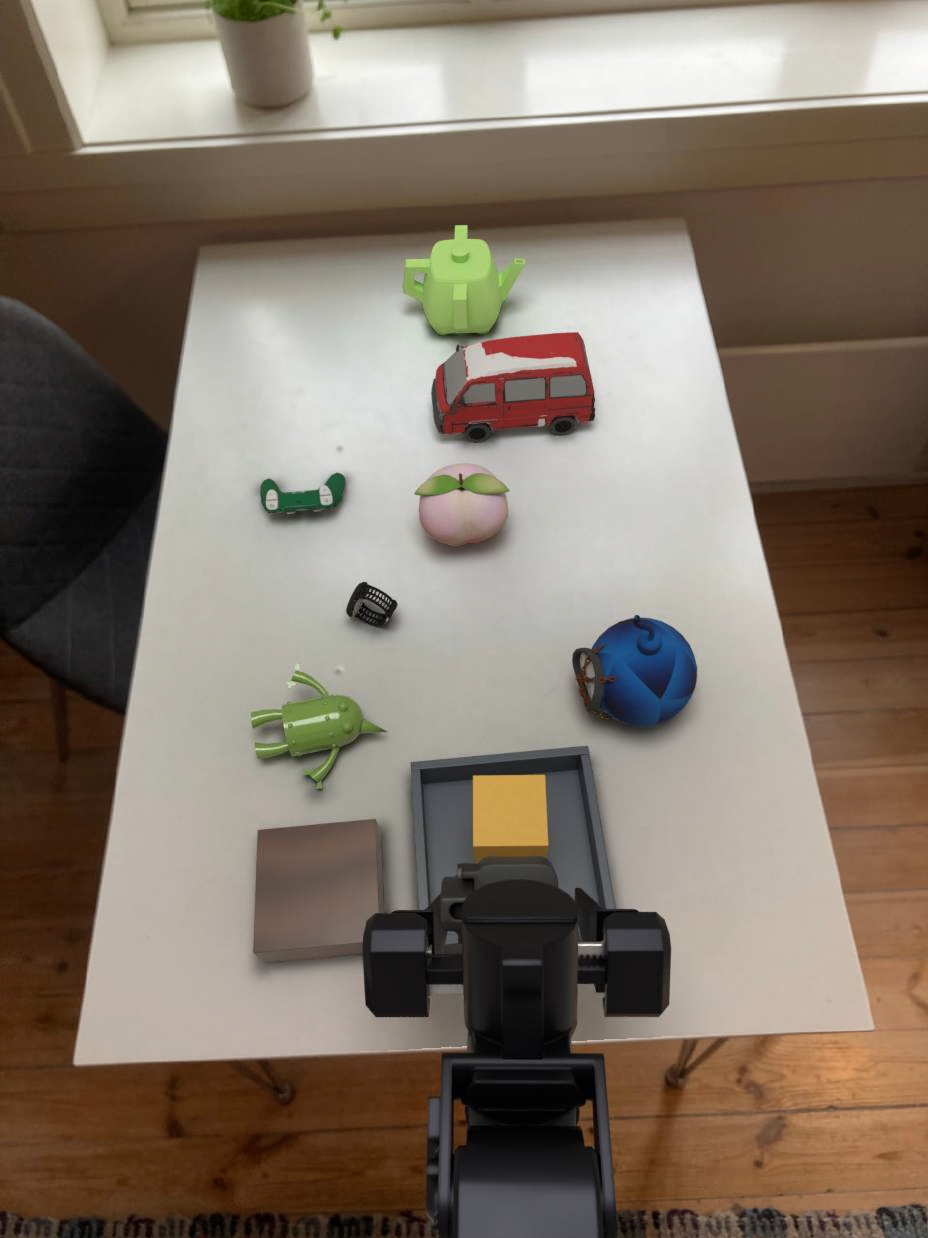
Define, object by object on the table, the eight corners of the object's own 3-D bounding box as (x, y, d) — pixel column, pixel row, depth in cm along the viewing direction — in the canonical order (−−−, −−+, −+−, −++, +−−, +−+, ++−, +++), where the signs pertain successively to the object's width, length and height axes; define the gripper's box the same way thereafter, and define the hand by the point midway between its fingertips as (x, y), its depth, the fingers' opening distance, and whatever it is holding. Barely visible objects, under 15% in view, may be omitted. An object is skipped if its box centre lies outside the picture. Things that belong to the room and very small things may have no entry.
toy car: (433, 391, 108) (427, 324, 100) (589, 387, 107) (596, 319, 99) (432, 448, 103) (425, 383, 95) (594, 445, 103) (602, 379, 94)
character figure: (237, 672, 81) (370, 645, 82) (248, 676, 86) (373, 651, 87) (261, 802, 79) (395, 773, 80) (270, 799, 85) (397, 772, 85)
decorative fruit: (500, 497, 99) (499, 433, 91) (513, 557, 95) (515, 496, 87) (415, 509, 99) (406, 447, 90) (425, 571, 95) (417, 511, 86)
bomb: (559, 664, 88) (569, 578, 75) (667, 642, 89) (694, 553, 76) (588, 756, 83) (603, 680, 70) (701, 731, 84) (737, 652, 71)
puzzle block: (542, 886, 77) (548, 845, 67) (476, 886, 77) (473, 846, 67) (540, 821, 80) (545, 774, 70) (476, 822, 80) (472, 775, 70)
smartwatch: (371, 594, 93) (365, 566, 89) (405, 624, 91) (400, 597, 87) (341, 618, 92) (333, 591, 88) (374, 649, 90) (368, 623, 86)
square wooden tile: (385, 951, 75) (379, 941, 72) (264, 963, 75) (253, 953, 71) (381, 833, 80) (375, 818, 77) (267, 844, 80) (257, 829, 77)
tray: (613, 940, 75) (619, 928, 71) (424, 958, 75) (420, 947, 71) (584, 763, 83) (588, 745, 79) (414, 779, 83) (410, 761, 79)
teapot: (462, 361, 110) (459, 295, 102) (398, 318, 115) (390, 251, 107) (528, 313, 115) (530, 245, 106) (463, 273, 119) (460, 205, 111)
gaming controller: (266, 512, 102) (256, 519, 96) (262, 478, 101) (251, 483, 95) (349, 505, 102) (344, 512, 96) (345, 470, 101) (339, 475, 95)
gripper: (697, 914, 47) (647, 787, 62) (340, 915, 48) (376, 790, 63) (689, 1095, 50) (643, 931, 65) (351, 1094, 51) (383, 933, 66)
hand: (512, 894), depth 65 cm, fingers open, 9 cm apart
